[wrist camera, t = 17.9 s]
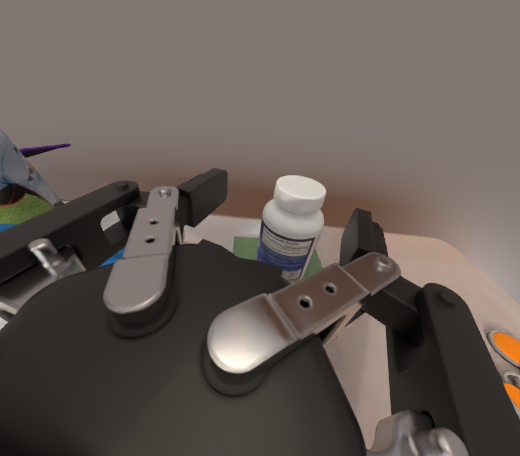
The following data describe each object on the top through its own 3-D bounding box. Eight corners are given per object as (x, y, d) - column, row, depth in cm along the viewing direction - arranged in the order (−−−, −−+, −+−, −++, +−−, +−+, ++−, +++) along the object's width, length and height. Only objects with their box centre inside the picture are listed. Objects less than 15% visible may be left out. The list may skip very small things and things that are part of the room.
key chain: (537, 340, 18) (546, 336, 18) (644, 459, 13) (661, 458, 12) (395, 310, 19) (400, 305, 19) (434, 407, 14) (442, 404, 13)
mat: (230, 305, 18) (230, 303, 17) (234, 239, 25) (234, 236, 24) (335, 306, 19) (336, 304, 19) (311, 242, 26) (311, 240, 26)
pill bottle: (273, 243, 24) (290, 166, 18) (312, 266, 22) (345, 187, 16) (244, 267, 21) (253, 182, 15) (287, 298, 18) (317, 212, 12)
